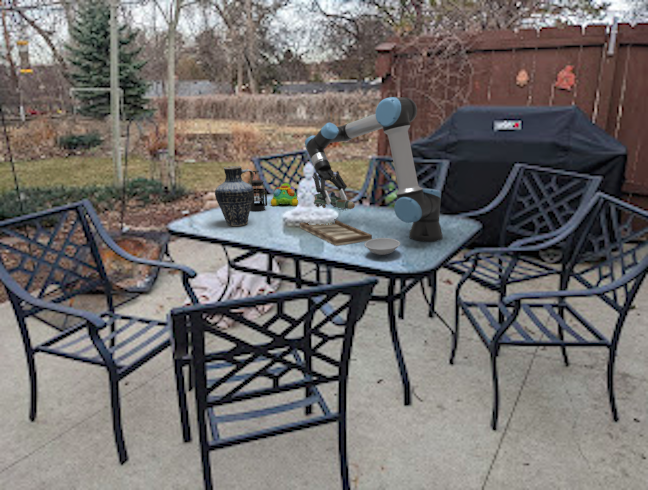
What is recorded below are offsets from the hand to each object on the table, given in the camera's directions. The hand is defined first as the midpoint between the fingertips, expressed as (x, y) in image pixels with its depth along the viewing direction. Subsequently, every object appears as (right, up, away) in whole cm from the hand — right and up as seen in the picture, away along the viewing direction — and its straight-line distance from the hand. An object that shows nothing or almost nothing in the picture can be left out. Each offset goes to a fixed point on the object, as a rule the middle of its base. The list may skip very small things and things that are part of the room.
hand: (337, 202), depth 234 cm
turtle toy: (-31, +5, +77) cm, 83 cm away
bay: (-1, -15, +7) cm, 16 cm away
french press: (-45, 0, +59) cm, 74 cm away
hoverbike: (-2, -3, +4) cm, 5 cm away
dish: (+18, -24, -25) cm, 39 cm away
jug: (-52, -9, +26) cm, 59 cm away
